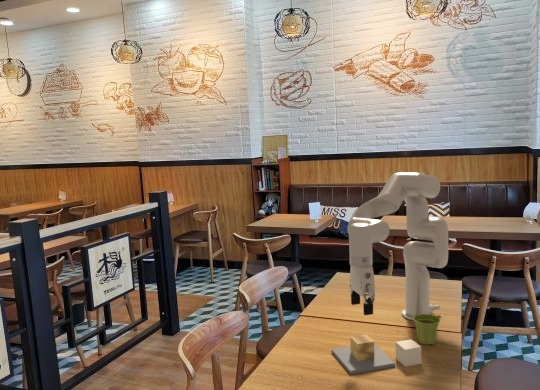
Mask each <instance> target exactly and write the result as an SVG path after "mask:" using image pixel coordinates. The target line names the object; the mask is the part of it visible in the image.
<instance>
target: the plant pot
mask: <svg viewBox="0 0 540 390" xmlns="http://www.w3.org/2000/svg"><path fill="white" fill-rule="evenodd" d="M413 320H414V321H413ZM413 320H412V321H413V322H414V324H415V329H416V335H417V336H416V337H417V341H418V342H419V343H420V344H423V345H434V344H435V343H436V340H437V335H438V334H437V333H438V327H439V325H440V322H441V319H440V317H439V316H436V315H435V314H433V315H430V314H418V315H415V316H414V317H413Z"/></svg>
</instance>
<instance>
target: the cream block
mask: <svg viewBox="0 0 540 390" xmlns="http://www.w3.org/2000/svg"><path fill="white" fill-rule="evenodd" d="M395 359H396V361H398V362H399V363H400V364H401V365H403V366H404V367H410V366H416V365H421V364H422V346H421V345H420V344H418V343H417V342H416V341H414V340H413V339H405V340H401V341H395Z"/></svg>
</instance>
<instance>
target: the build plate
mask: <svg viewBox="0 0 540 390" xmlns="http://www.w3.org/2000/svg"><path fill="white" fill-rule="evenodd" d="M331 353H332V355H334V357H335V358H336V359H337V361H339V362H340V364H341V365H342V366H343V368H344V369H345V370H346V371H347V372H348V373H349V375H354V374H359V373H360V374H361V373H367V372H373V371H378V370H382V369H389V368H395V367H396V362H395V361H394V360H393V359H391V358H390V356H388V355H387V354H386V353H385V352H384V351H383V350H382V349H381V348H380V347H379V346H378V345H376V344H375V343H374V359H368V360H362V361H357V359H356V358H355V357H354V356H353V355H352V354H351V347H350V345H349V346H343V347H336V348H332V349H331Z"/></svg>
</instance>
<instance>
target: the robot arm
mask: <svg viewBox="0 0 540 390" xmlns="http://www.w3.org/2000/svg"><path fill="white" fill-rule="evenodd" d="M440 190H441V182H440V180H439V178H438V177H436V176H435V175H431V174H428V173H427V174H426V173H423V172H407V171H406V172H405V171H401V172H395V173H393V174H391V175H390V177H389V178H388V179H387V181H386V183H385V185H383V188H382V189H381V191H380V193H379V194H378V195H377V196H376V197H374V198H372V199H370V200H368V201H366V202H364V203H363V204H361V205H360V206H359V207H358V208H356V209H355V211H354V212H353V214H352V216H351V218H350V219H349V221H348V224H347V229H346V230H347V234H348V243H349V245H348V246H349V247H348V248H349V249H348V251H349V265H350V272H349V273H350V275H349V279H348V280H349V283H350V284H349V287H350V291H349V292H350V305H352V306H355V305H360V304H361V297H362V298H363V302H364V303H363V316H369V315H374V303H375V297H376V284H375V275H374V267H373V264H374V263H373V243H375V244H376V243H381V242H384V241H385V240H386V239H387V238H388V237H389V236H390V230H391V229H390V225H389V223H387V221H385V220H383V219H375V218H378V217H381V216H386V215H391V214H393V213H395V212H397V211H398V210H399V209H400V207H401V205H402V203H403V202H405V205H406V209H405V210H406V233H407V236H408V237H410V238H411V239H416V240H415V241H414V240H413V241H412V240H411V241H408V242H407V243H405V244H404V246H403V249H402V254H403V261H404V267H405V309H403V310H402V311H401V316H402V317H403V318H404V319H406V320H410V321H413V322H415V321H414V320H413V317H414V316H415V315H418V314H430V315H434V313H433V312H434V311H440V309H441V306H440V304H435V305H434V304H433V303H430V302H431V301H430V300H431V299H430V297H431V294H430V293H431V292H430V287H431V286H430V284H431V277H430V276H431V275H430V271H429V270H428V268H437V269H443V268H445V267H446V266H447V265H448V260H449V227H448V223H447V221H446V219H444V218H442V217H438V216H437V217H436V216H430V214H429V202H428V200H427V199H435V198H436V197H438V196H439V193H440ZM419 240H423V241H419ZM424 241H425V242H424ZM426 241H432V242H433V243H432V242H426ZM427 267H428V268H427Z"/></svg>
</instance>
